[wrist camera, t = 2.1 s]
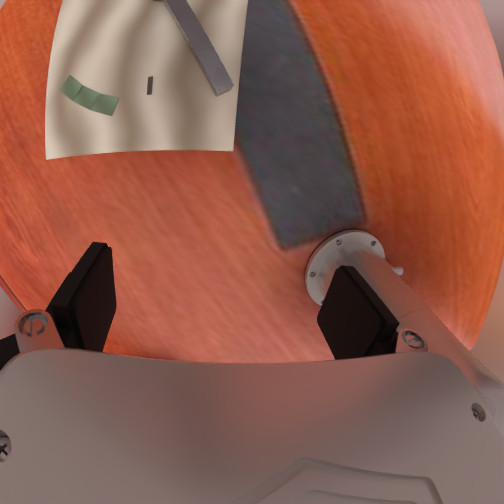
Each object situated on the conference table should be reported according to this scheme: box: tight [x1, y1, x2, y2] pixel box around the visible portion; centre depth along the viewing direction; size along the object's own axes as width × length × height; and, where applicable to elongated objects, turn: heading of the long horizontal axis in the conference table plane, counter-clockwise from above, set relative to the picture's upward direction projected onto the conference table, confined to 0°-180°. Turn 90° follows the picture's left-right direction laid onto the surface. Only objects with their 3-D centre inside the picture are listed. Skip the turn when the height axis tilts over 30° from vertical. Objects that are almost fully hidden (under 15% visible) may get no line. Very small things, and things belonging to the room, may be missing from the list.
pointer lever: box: [154, 0, 234, 97], centre depth 18 cm, size 17×4×5 cm, turn 24°
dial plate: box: [45, 0, 248, 160], centre depth 21 cm, size 22×22×2 cm
